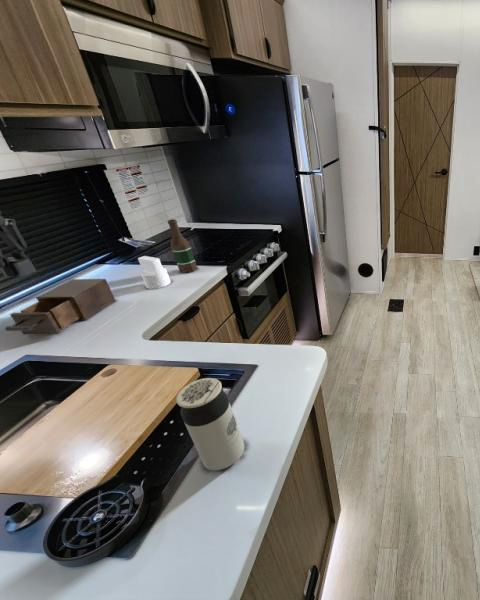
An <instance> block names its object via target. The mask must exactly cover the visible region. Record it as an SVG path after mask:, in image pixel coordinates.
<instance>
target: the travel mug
mask: <svg viewBox="0 0 480 600" xmlns="http://www.w3.org/2000/svg"><path fill="white" fill-rule="evenodd" d="M222 388H223V387H222V382H221V381H220V380H218V379H217V378H214V377H213V378H212V377H205V378H200V379H197V380H194V381H192V382H190V383H187V384H186V386H184V387H183V388H181V390H180V391H179V392H178V394H177V395H176V399H175V400H176V404H177V405H178V406H179V407H180V410H179V411H180V412H179V413H180V417H181V419H182V421H183V423H184V425H185V427H186V430H187V431H188V434H189V436H190V438H191V441H192V443H193V445H194V447H195V449H196V451H197V453H198V455H199V457H200V460H201V462H202V464H203V467H205V468H206V469H207V470H210V471H220V470H221V471H222V470H224V469H227V468H229V467H231V466H232V465H234V464H235V463H237V461H238V460H239V459H240V458H241V457H242V455H243V453H244V451H245V442H244V440H243V437H242V434H241V432H240V431H241V430H240V429H239V426H238V423H237V420H236V417H235V414H234V412H233V409H232V406H231V403H230V400H229V397H228V395H227V393H226V391H224V390H223V389H222Z"/></svg>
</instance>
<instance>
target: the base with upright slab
mask: <svg viewBox="0 0 480 600" xmlns="http://www.w3.org/2000/svg"><path fill="white" fill-rule="evenodd" d="M137 260H138V262H139V265H140V267H141V270H142V272H141V273H140V276H141V278H142V281H143V283H144V286H145V287H146V289H148V290H149V289H150V290H155V289H161V288H164V287H167V286H168V285H170V284H171V282H172V281H171V279H170V276H169V273H168V271H167V268H166V267H163V265H162V262H161V260H160V258H159V257H153V256H147V255H143V256H140V257H138V258H137Z"/></svg>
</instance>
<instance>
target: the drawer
mask: <svg viewBox="0 0 480 600" xmlns="http://www.w3.org/2000/svg"><path fill="white" fill-rule="evenodd" d="M9 316H10V317H11V319H12V320H13V322H14V324H12V325H7V326H5V331H6V332H21V334H22V335H24V336H29V335H32V336H33V335H59V334H61V333H62V330H63V329H65V328H67V327H68V326H70V325H71V324H73V323H74V322H76V321H79V320H78V319H79V318H81V317H82V316H81V314H80V312H79V311H78V309H77V307H76V305H75V303H74V302H73V300H72V299H43V300H41V301H39V302H38V301H37V302H35V303H33V304H31V305H29V306H27V307H25V308H24V309H21V310H20V312H11V313H10V314H9Z"/></svg>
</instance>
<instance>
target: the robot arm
mask: <svg viewBox="0 0 480 600" xmlns="http://www.w3.org/2000/svg"><path fill="white" fill-rule="evenodd" d="M0 239H2V241H3V242H4V243H5V244H6V245H7V247H9V248H10V250H11V251H13V252H10V254H11V255H12V257H27V256H26V254H25V251H26V248H28V245H27V243H26V241H25V239H24V238H23V235H22V234H21V231H20V230H19V227H18V226H17V221H16V219H15V218H5V217H4V216H2V211H1V210H0ZM7 257H8V256H4V254H3V252H2V249H1V248H0V268H3V270H4V271H5V273H6V274H7V276H6V277H18V276H17V275H18V274H17V273H16V271H15V269H14V268H13V266H12V265H11V263H10V261H9V260H8V258H7Z"/></svg>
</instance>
